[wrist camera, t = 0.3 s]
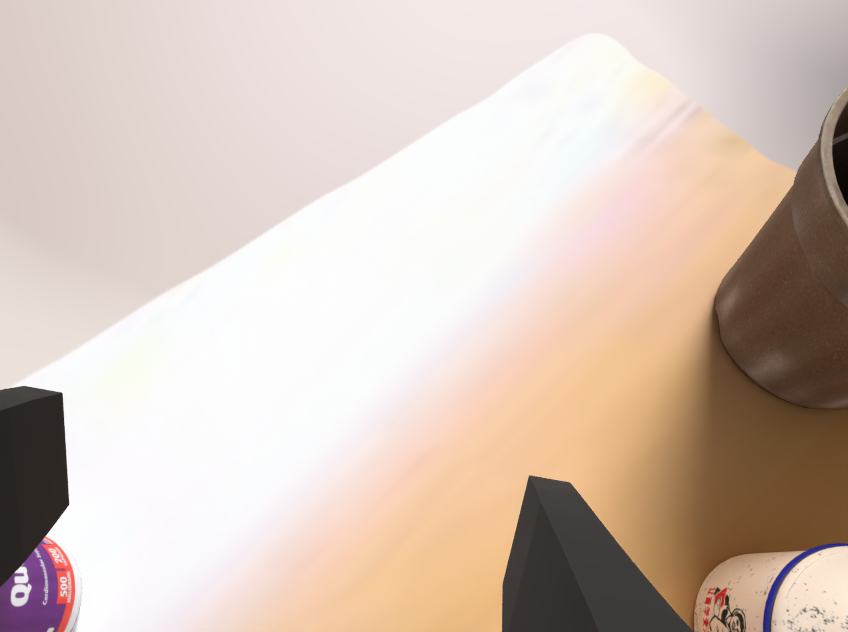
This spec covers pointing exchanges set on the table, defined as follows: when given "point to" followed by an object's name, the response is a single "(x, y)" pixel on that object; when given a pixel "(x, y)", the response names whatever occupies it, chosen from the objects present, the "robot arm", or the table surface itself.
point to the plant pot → (797, 283)
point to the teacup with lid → (777, 592)
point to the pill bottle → (42, 591)
